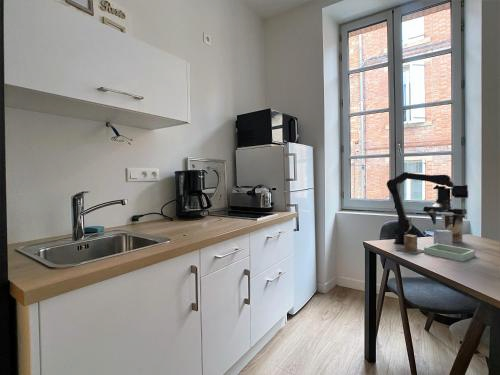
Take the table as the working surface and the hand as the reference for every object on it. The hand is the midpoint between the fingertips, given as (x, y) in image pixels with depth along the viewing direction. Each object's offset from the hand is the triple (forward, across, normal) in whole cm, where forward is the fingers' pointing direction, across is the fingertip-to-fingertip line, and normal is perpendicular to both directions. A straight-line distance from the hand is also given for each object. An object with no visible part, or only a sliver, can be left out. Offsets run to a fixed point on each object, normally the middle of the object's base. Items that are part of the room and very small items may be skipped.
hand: (443, 225), depth 144 cm
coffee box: (+13, -6, +24) cm, 28 cm away
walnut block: (+12, -8, -18) cm, 23 cm away
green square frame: (+13, +6, -9) cm, 17 cm away
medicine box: (+13, -4, +8) cm, 16 cm away
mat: (+13, -8, -18) cm, 23 cm away
